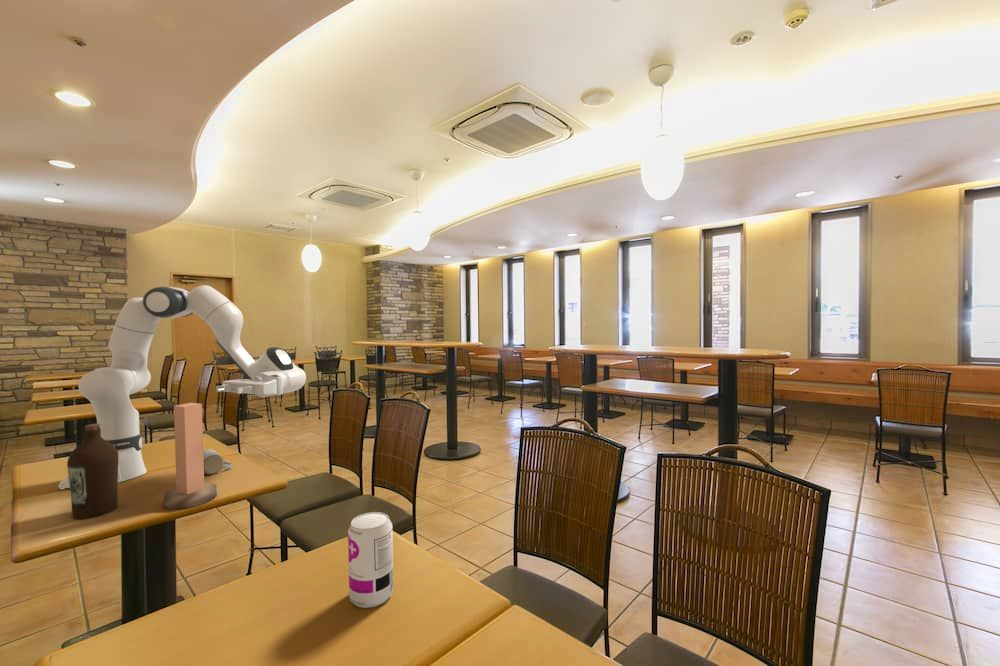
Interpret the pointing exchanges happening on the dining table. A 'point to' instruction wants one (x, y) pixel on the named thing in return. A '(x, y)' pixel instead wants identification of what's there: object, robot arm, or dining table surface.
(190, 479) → the terracotta post
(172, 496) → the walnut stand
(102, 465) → the olive oil
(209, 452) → the ceramic mug
